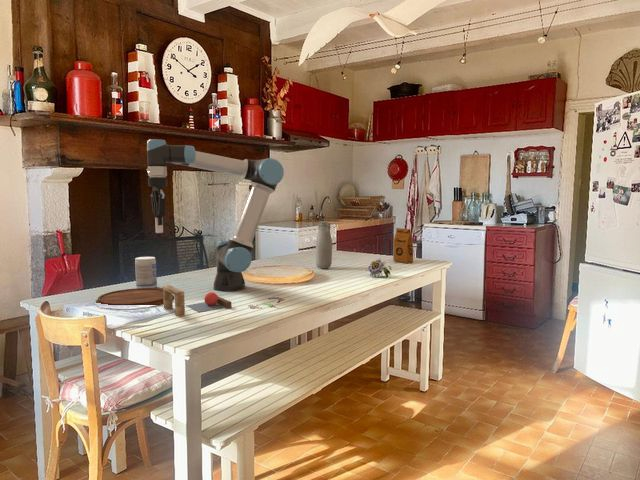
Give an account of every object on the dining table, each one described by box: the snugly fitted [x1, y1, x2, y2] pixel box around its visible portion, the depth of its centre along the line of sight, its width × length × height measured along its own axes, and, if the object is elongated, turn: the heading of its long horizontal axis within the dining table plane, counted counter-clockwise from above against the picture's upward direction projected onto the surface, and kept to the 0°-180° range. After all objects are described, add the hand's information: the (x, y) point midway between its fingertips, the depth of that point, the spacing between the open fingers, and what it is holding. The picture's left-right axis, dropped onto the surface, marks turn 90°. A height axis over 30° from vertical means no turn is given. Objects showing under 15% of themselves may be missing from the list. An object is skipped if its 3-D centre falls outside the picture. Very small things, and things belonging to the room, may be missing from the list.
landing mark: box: [185, 301, 226, 313], centre depth 200 cm, size 13×13×1 cm
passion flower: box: [365, 258, 392, 279], centre depth 266 cm, size 11×11×12 cm
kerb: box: [216, 296, 233, 310], centre depth 203 cm, size 2×16×2 cm, turn 38°
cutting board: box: [94, 287, 175, 306], centre depth 210 cm, size 32×32×2 cm
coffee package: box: [393, 227, 415, 264], centre depth 313 cm, size 10×12×22 cm
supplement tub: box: [134, 256, 158, 288], centre depth 234 cm, size 10×10×15 cm
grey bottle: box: [315, 221, 333, 270], centre depth 288 cm, size 10×10×28 cm
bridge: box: [162, 284, 186, 317], centre depth 191 cm, size 3×15×9 cm, turn 38°
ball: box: [204, 291, 219, 306], centre depth 201 cm, size 6×6×6 cm
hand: (159, 232), depth 207 cm, fingers closed
